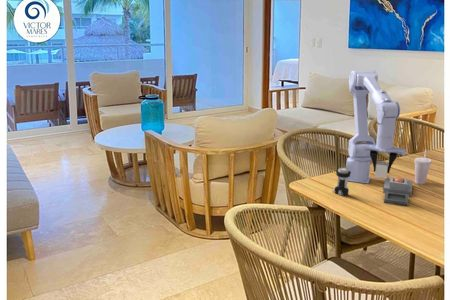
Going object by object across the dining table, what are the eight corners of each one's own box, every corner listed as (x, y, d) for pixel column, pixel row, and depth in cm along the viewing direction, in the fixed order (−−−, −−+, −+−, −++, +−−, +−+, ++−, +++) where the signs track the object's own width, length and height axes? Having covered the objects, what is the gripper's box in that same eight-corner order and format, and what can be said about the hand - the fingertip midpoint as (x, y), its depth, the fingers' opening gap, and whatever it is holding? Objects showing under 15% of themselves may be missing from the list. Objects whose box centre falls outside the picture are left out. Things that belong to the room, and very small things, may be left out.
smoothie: (430, 186, 187) (434, 152, 183) (412, 184, 188) (417, 151, 184) (426, 180, 193) (431, 147, 189) (410, 179, 194) (414, 146, 190)
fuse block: (374, 177, 172) (376, 163, 171) (375, 173, 176) (377, 159, 174) (386, 178, 171) (387, 164, 169) (387, 175, 174) (388, 161, 173)
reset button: (393, 186, 179) (394, 179, 179) (394, 183, 182) (394, 177, 181) (402, 187, 178) (402, 180, 178) (402, 184, 181) (403, 178, 180)
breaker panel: (382, 192, 180) (384, 181, 178) (385, 182, 190) (386, 172, 189) (411, 196, 176) (412, 185, 175) (411, 186, 187) (413, 175, 185)
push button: (328, 193, 178) (330, 168, 175) (335, 189, 182) (337, 165, 179) (344, 198, 174) (347, 172, 171) (351, 194, 178) (353, 169, 175)
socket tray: (383, 202, 170) (384, 199, 170) (385, 195, 177) (385, 191, 177) (407, 206, 168) (407, 202, 167) (408, 198, 175) (408, 194, 174)
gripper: (363, 136, 168) (359, 172, 172) (406, 140, 163) (402, 177, 167) (365, 131, 174) (362, 166, 178) (407, 135, 169) (403, 171, 173)
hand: (381, 171), depth 173 cm, fingers closed on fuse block, 4 cm apart
